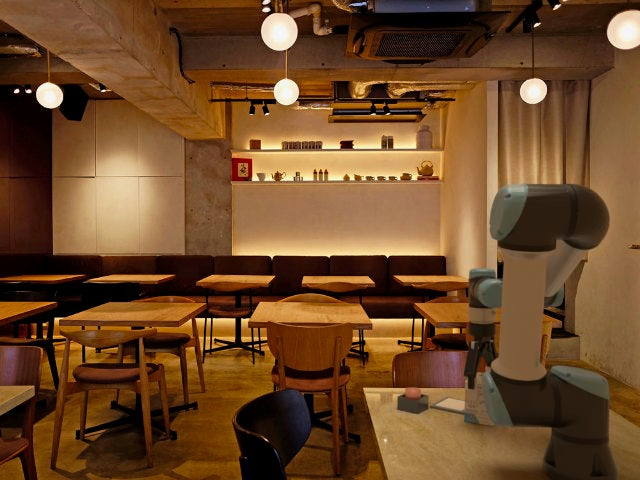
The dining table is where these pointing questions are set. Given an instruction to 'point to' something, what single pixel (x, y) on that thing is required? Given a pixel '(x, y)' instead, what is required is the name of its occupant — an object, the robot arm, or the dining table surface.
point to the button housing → (413, 404)
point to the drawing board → (450, 405)
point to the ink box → (476, 406)
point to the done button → (413, 393)
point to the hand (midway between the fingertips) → (481, 394)
